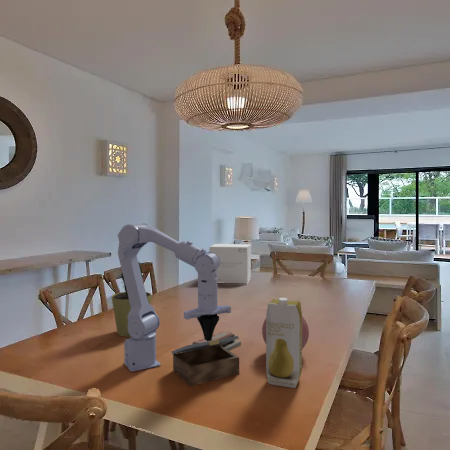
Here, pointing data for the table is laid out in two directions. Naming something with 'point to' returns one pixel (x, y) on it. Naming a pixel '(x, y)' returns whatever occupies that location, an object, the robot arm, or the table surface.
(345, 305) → the table surface
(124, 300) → the potted cactus
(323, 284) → the table surface
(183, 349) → the lid
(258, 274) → the table surface
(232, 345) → the packaged product
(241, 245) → the cube
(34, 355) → the table surface
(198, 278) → the robot arm
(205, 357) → the box
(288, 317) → the juice carton
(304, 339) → the balloon
